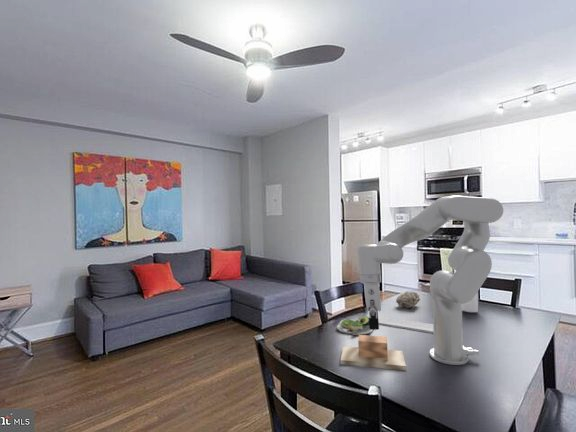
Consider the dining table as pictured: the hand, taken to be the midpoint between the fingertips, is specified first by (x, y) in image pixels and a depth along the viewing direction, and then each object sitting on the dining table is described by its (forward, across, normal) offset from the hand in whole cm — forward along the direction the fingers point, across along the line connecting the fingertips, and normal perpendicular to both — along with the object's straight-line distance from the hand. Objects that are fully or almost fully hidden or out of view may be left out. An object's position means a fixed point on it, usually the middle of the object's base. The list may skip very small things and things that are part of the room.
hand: (374, 324), depth 113 cm
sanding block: (+11, 0, +1) cm, 11 cm away
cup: (+16, +65, -48) cm, 82 cm away
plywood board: (+13, 0, +2) cm, 13 cm away
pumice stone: (+15, +70, -19) cm, 74 cm away
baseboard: (+15, +41, -12) cm, 45 cm away
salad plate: (+14, +31, +9) cm, 35 cm away
